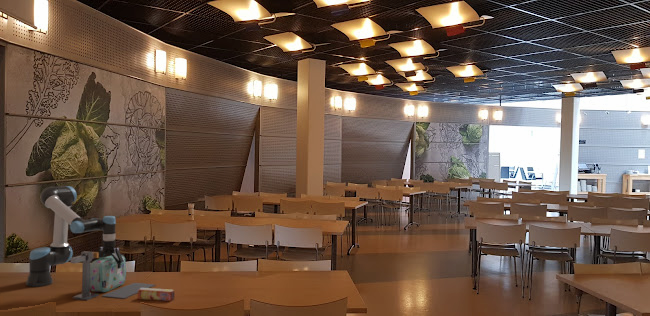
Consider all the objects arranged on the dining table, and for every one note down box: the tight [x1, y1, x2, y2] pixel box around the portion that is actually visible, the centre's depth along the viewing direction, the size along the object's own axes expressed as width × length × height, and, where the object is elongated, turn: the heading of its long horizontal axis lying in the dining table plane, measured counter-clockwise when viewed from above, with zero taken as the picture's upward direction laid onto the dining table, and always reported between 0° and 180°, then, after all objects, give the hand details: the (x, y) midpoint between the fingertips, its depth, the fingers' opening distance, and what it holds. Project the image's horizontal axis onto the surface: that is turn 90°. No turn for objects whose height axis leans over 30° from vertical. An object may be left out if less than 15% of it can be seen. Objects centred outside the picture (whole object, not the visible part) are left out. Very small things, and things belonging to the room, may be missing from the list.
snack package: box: [137, 287, 176, 302], centre depth 289 cm, size 21×7×7 cm, turn 84°
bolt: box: [70, 251, 99, 264], centre depth 288 cm, size 6×18×3 cm, turn 166°
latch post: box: [72, 250, 100, 301], centre depth 290 cm, size 10×10×28 cm
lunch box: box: [90, 254, 127, 293], centre depth 310 cm, size 27×10×21 cm, turn 168°
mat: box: [101, 282, 156, 300], centre depth 306 cm, size 16×32×1 cm, turn 166°
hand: (108, 272), depth 310 cm, fingers open, 13 cm apart
